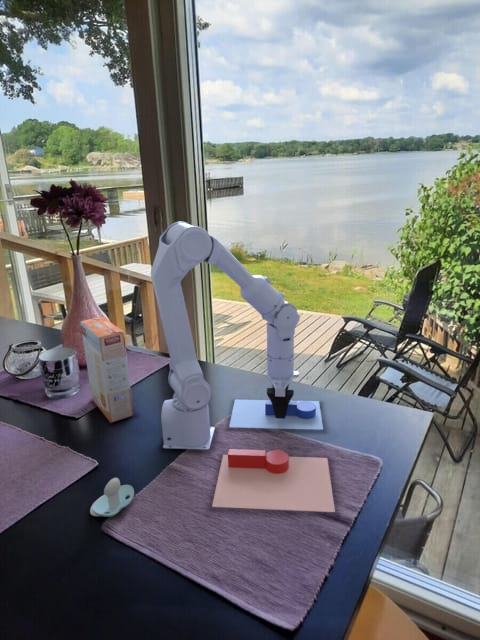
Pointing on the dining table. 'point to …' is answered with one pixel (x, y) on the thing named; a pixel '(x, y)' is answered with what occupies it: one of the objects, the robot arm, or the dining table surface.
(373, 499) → the dining table surface
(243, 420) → the blue mat
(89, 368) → the cracker box
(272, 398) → the robot arm
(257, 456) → the red spoon
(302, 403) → the blue spoon
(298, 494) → the rose mat
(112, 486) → the pacifier
